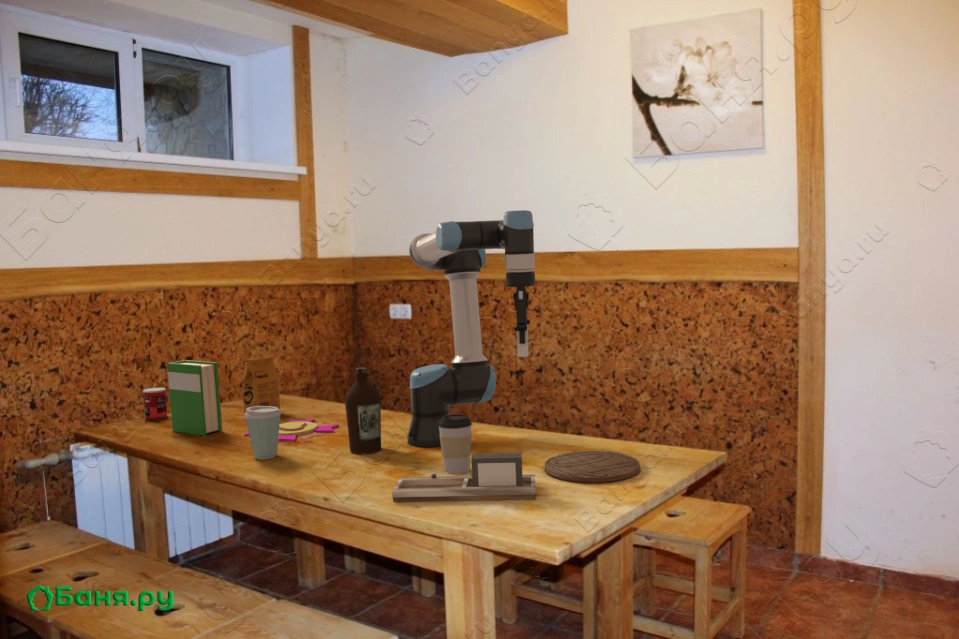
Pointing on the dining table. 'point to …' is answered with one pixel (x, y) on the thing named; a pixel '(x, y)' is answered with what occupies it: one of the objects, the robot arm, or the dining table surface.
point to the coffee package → (261, 384)
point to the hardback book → (194, 397)
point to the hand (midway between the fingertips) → (523, 352)
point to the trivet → (592, 467)
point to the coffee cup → (455, 443)
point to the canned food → (155, 403)
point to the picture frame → (497, 470)
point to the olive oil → (363, 415)
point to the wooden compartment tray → (458, 489)
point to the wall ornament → (302, 429)
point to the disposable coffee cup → (263, 430)
